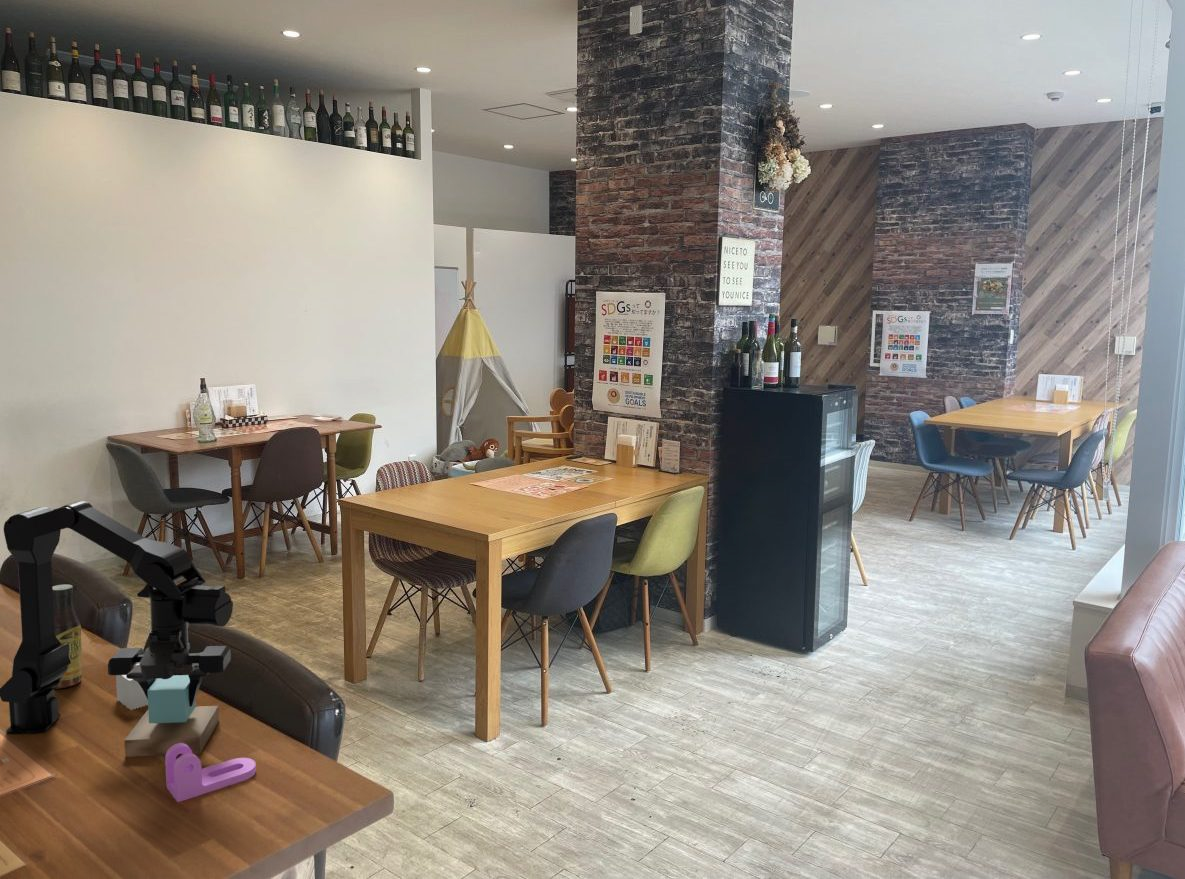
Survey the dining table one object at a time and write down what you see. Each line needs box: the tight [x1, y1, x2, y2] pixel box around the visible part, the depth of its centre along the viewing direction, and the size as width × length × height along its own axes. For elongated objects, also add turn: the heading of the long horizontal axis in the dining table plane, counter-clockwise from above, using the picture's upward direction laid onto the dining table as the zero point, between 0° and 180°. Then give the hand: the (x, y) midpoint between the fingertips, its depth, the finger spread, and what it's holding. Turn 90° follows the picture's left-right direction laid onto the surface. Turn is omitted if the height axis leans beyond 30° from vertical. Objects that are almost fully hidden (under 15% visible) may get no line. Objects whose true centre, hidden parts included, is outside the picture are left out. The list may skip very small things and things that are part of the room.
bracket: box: [164, 743, 257, 803], centre depth 143 cm, size 13×6×7 cm, turn 132°
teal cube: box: [147, 674, 197, 723], centre depth 155 cm, size 6×6×6 cm
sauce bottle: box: [52, 584, 83, 689], centre depth 175 cm, size 6×6×20 cm
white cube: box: [115, 675, 148, 711], centre depth 170 cm, size 6×6×6 cm
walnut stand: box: [124, 705, 220, 758], centre depth 156 cm, size 12×12×3 cm
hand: (172, 706), depth 156 cm, fingers closed on teal cube, 6 cm apart
